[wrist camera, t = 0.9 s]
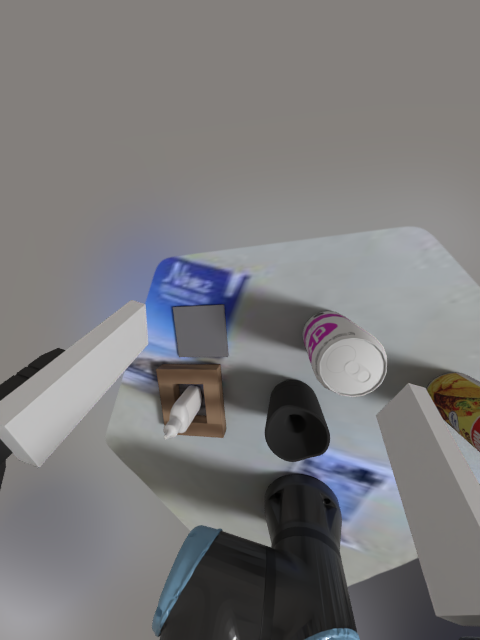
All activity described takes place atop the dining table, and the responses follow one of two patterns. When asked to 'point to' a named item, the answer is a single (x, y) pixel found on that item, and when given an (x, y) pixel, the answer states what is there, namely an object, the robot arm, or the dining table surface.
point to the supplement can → (344, 355)
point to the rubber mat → (201, 331)
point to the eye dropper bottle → (183, 411)
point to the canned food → (458, 404)
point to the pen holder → (295, 423)
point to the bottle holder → (213, 395)
